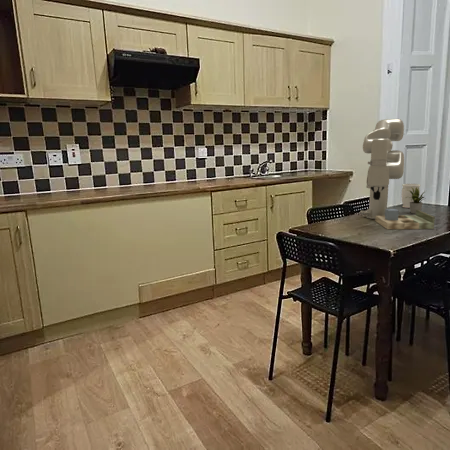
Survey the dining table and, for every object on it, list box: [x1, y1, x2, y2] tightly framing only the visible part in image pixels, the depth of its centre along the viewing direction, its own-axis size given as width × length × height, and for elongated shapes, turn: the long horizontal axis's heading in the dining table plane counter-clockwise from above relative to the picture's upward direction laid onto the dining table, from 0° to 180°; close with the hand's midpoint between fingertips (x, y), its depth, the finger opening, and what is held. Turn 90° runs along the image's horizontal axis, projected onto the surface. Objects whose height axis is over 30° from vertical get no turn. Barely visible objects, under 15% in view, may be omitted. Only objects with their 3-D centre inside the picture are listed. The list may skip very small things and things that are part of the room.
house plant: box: [404, 187, 426, 215], centre depth 222 cm, size 14×14×16 cm
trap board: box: [374, 210, 436, 230], centre depth 192 cm, size 22×20×6 cm
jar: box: [401, 183, 421, 209], centre depth 240 cm, size 11×10×15 cm
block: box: [385, 208, 400, 220], centre depth 192 cm, size 5×5×5 cm
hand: (376, 199), depth 191 cm, fingers closed
